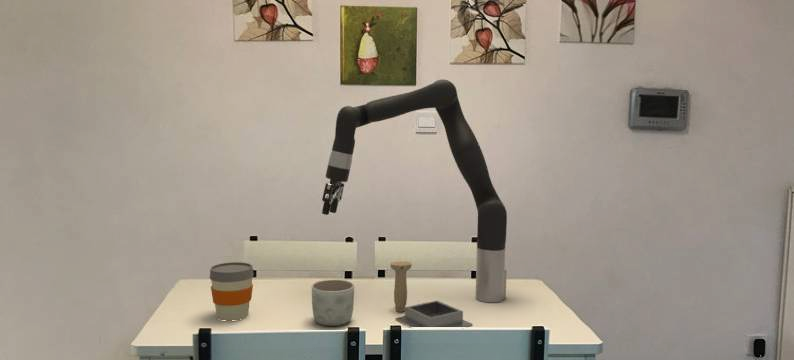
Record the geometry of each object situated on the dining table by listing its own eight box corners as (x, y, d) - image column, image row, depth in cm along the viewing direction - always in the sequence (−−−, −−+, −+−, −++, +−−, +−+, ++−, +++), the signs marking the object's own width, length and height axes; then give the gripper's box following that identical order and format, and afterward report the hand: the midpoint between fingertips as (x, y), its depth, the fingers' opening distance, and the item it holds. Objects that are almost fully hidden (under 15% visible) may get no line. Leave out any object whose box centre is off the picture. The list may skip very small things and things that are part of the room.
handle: (411, 313, 180) (412, 265, 178) (391, 313, 179) (391, 265, 177) (409, 307, 185) (410, 261, 183) (389, 308, 184) (389, 261, 182)
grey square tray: (437, 310, 183) (438, 297, 182) (472, 325, 170) (472, 312, 169) (395, 320, 174) (395, 306, 173) (428, 337, 160) (428, 322, 160)
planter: (318, 331, 164) (318, 293, 162) (306, 317, 175) (306, 281, 174) (360, 325, 169) (360, 288, 167) (346, 312, 180) (346, 277, 179)
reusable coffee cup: (231, 326, 166) (230, 275, 165) (201, 318, 173) (200, 268, 171) (263, 314, 177) (262, 265, 175) (234, 306, 184) (233, 260, 182)
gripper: (344, 168, 187) (333, 217, 188) (355, 168, 201) (345, 214, 202) (322, 163, 188) (311, 212, 189) (334, 163, 202) (324, 209, 203)
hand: (328, 213), depth 196 cm, fingers open, 8 cm apart
